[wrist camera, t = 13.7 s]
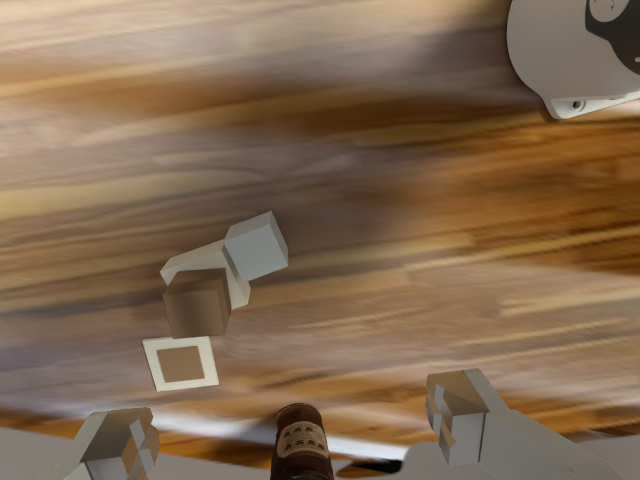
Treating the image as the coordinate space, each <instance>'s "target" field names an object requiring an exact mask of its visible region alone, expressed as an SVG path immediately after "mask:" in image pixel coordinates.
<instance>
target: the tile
mask: <svg viewBox="0 0 640 480" xmlns="http://www.w3.org/2000/svg"><path fill="white" fill-rule="evenodd" d="M142 342H143V345H144V349H145V352H146V355H147V359H148V362H149V366H150V369H151V372H152V376H153V379H154V382H155V386H156V389H157V392H158V391H167V390H175V389H184V388H193V387H202V386H210V385H218V384H219V380H218V375H217V371H216V366H215V362H214V357H213V352H212V348H211V343H210V338H209V336H205V337H194V338H183V339H173V338H172V336H170V337H161V338H151V339H143V341H142Z"/></svg>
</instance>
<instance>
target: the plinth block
mask: <svg viewBox="0 0 640 480" xmlns="http://www.w3.org/2000/svg"><path fill="white" fill-rule="evenodd" d="M223 241H224V239H222V240H219V241H216V242H214V243H211V244H208V245H205V246H202V247H200V248H197V249H194V250H191V251H188V252H185V253H183V254H180V255H177V256H174V257H171V258H170V259H169V260H168V262H167V263H166V264H165V265H164V267H163V268H162V269H161V271H160V274H161V275H162V277H163V279H164V281H165V282H166V284H167V286H168V285H169V284H170V282H171V281H172V279H173V278H174V276H175V275H176V273H177V272H178V271H187V270H200V269H213V268H226V274H227V281H228V287H229V294H230V300H231V306H232V309H231V310H233V309H236V308H238V307H241V306H244V305H247V304H248V300H249V295H250V290H251V288H250V285H249V283H248V281H247V282H245V283H244V282H243V280H242V278H241V276H240V274H239V272H238V270H237V268H236V266H235V264H234V262H233V260H232V258H231V256H230V254H229V252H228V250H227V248H226V246H225V244H224V242H223Z"/></svg>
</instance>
